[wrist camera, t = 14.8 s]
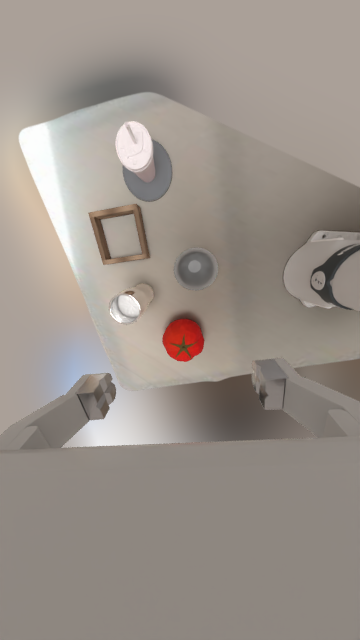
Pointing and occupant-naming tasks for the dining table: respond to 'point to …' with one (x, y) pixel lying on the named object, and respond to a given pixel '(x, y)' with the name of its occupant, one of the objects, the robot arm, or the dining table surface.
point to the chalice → (196, 268)
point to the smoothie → (136, 150)
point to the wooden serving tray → (100, 236)
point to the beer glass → (131, 303)
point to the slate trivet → (160, 181)
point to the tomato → (183, 340)
